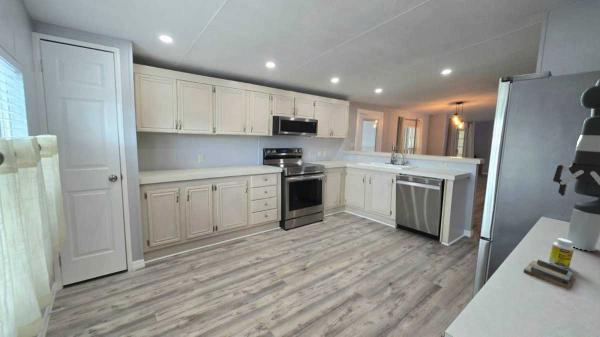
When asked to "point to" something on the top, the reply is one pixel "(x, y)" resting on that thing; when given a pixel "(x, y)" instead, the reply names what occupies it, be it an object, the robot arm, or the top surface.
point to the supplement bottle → (561, 253)
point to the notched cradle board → (550, 273)
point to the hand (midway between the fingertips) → (580, 198)
